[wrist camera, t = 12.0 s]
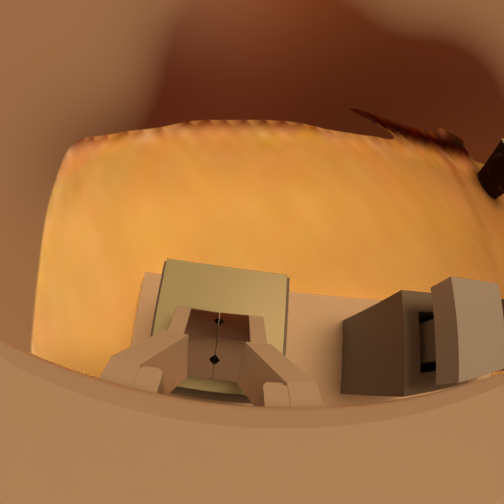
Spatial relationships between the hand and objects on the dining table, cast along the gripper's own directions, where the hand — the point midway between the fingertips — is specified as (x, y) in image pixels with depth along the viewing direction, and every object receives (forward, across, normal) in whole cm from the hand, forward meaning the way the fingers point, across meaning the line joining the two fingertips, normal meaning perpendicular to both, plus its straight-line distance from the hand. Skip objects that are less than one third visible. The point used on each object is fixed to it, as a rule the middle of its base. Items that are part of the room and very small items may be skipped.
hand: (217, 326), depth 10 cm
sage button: (+4, 0, +4) cm, 5 cm away
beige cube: (+2, -13, +2) cm, 13 cm away
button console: (+8, -13, +8) cm, 17 cm away
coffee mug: (+30, -46, -13) cm, 57 cm away
